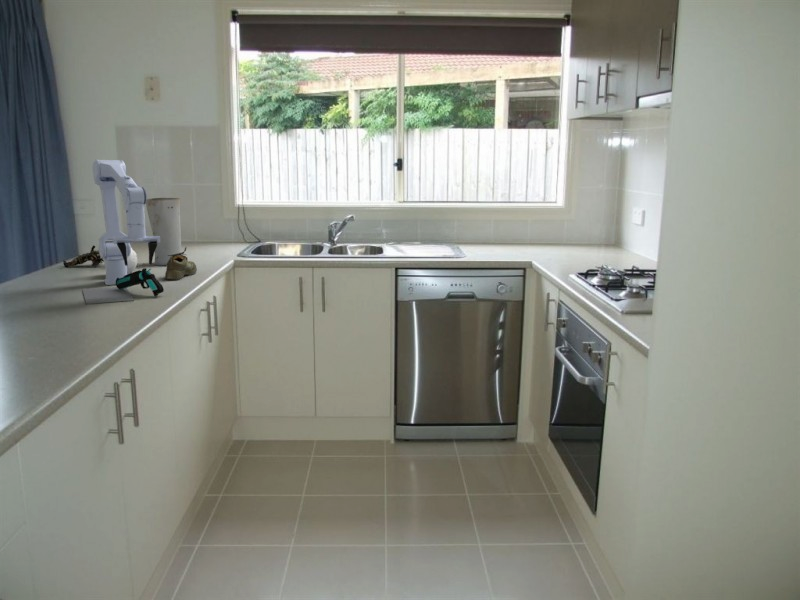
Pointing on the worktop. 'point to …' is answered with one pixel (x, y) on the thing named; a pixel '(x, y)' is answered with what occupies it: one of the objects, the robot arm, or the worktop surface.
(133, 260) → the decorative ball
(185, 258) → the hiking shoe
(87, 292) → the mat
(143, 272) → the toy gun
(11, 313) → the worktop surface
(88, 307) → the worktop surface
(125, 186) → the robot arm
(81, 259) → the figurine
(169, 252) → the vase
